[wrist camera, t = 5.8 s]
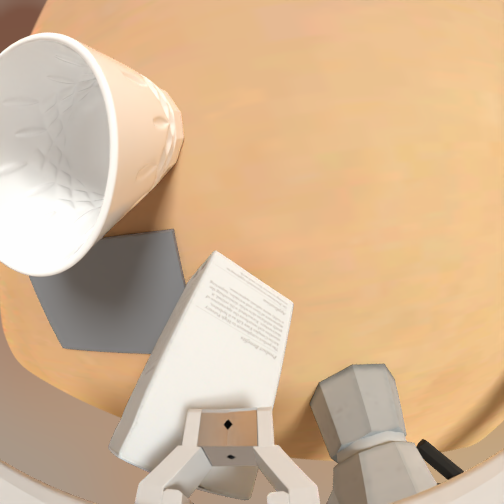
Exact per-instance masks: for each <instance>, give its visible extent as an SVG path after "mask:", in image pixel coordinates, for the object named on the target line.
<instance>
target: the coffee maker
mask: <svg viewBox="0 0 504 504" xmlns="http://www.w3.org/2000/svg"><path fill="white" fill-rule="evenodd" d="M310 406H311V409H312V411H313V414H314V416H315V419H316V422H317V424H318V427H319V429H320V432H321V434H322V437H323V439H324V442H325V444H326V447H327V450H328V452H329V455H330V457H331V459H333V460H334V461H335V462H337V463H338V464H337V465H336V466H335V467H334V469H333V490H332V492H331V495H330V497H329V499H328V501H327V503H326V504H389V503H392V502H395V501H398V500H401V499H403V498H406V497H409V496H412V495H414V494H417V493H419V492H422V491H424V490H427V489H429V488H432V487H434V486H436V485H438V484H441V483H436V482H435V480H434V478H433V476H432V474H431V473H430V471H429V469H428V467H427V465H426V464H425V462H424V460H425V461H426V462H427V463H429V464H430V465H431V466H432V467H433V468H434V469H436V470H437V471H438V472H439V473H440V474H442V475H443V476H444V477H445V478H446V479H448V480H449V479H451V478H453V477H455V476H457V475H459V474H461V473H463V472H464V471H463V470H462V469H460V468H459V467H458V466H456V465H455V464H454V463H453V462H452V461H451V460H449V459H448V458H447V457H446V456H444V455H443V454H442V453H441V452H439V451H438V450H437V449H436V448H435V447H433V446H432V445H431V444H430V443H429V442H427V441H426V440H424V439H422V440H421V441H420V442H419V443H418V445H417V447H416V446H415V444H414V443H412V442H407V441H406V438H405V436H406V430H405V425H404V420H403V415H402V410H401V405H400V400H399V396H398V391H397V387H396V383H395V379H394V378H393V376H392V375H391V373H390V372H389V370H388V369H387V367H386V366H385V364H366V365H351V366H349V367H347V368H345V369H344V370H342V371H340V372H338V373H336V374H335V375H333V376H331V377H329V378H327V379H325V380H323V381H321V382H319V384H318V386H317V389H316V391H315V393H314V395H313V397H312V400H311V402H310ZM423 459H424V460H423Z"/></svg>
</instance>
